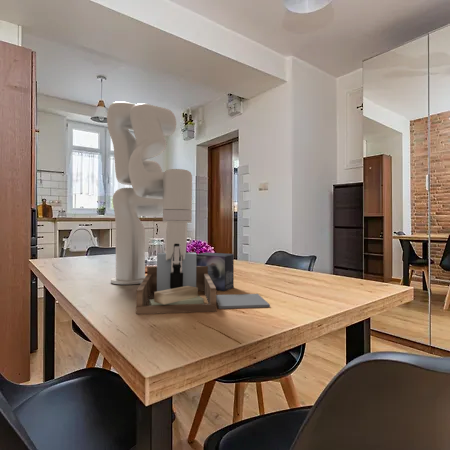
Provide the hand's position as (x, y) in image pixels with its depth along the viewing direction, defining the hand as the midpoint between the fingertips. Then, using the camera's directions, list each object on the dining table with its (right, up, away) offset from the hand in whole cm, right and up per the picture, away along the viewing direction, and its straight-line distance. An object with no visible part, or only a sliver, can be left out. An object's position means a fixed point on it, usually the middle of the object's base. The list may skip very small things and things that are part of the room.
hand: (176, 286), depth 85 cm
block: (0, -2, 0) cm, 2 cm away
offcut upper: (+2, -1, -10) cm, 10 cm away
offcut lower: (+1, -4, -10) cm, 11 cm away
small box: (+9, -3, +14) cm, 17 cm away
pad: (+16, -3, -4) cm, 17 cm away
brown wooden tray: (+1, -3, -2) cm, 4 cm away
